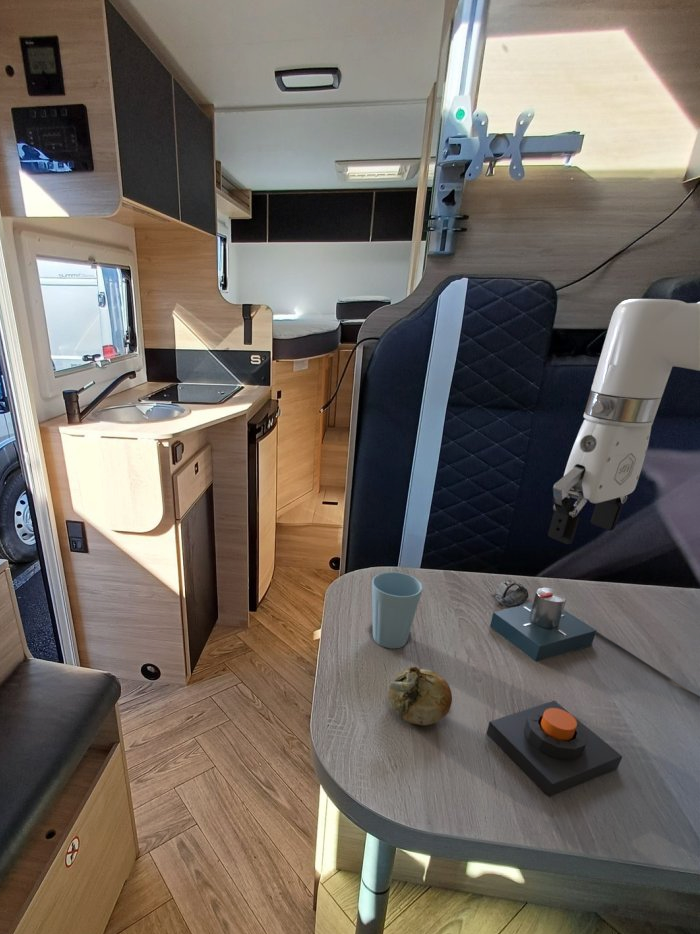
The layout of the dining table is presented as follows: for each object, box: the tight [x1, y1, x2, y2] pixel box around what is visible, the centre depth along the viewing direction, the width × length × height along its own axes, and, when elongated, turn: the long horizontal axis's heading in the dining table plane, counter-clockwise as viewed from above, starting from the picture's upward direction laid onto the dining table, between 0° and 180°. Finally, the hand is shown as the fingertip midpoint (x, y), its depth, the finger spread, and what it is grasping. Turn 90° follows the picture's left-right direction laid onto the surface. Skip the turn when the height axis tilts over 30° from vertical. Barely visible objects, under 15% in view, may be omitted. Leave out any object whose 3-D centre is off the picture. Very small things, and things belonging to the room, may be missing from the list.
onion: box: [388, 665, 453, 726], centre depth 68 cm, size 8×8×8 cm
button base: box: [486, 700, 623, 798], centre depth 63 cm, size 11×10×4 cm
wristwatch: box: [495, 578, 530, 607], centre depth 95 cm, size 3×5×5 cm
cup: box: [371, 571, 424, 649], centre depth 83 cm, size 8×8×10 cm
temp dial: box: [529, 587, 568, 628], centre depth 84 cm, size 4×4×5 cm
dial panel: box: [489, 602, 598, 662], centre depth 85 cm, size 12×10×3 cm
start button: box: [541, 708, 577, 741], centre depth 62 cm, size 4×4×2 cm
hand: (581, 533), depth 72 cm, fingers open, 9 cm apart
